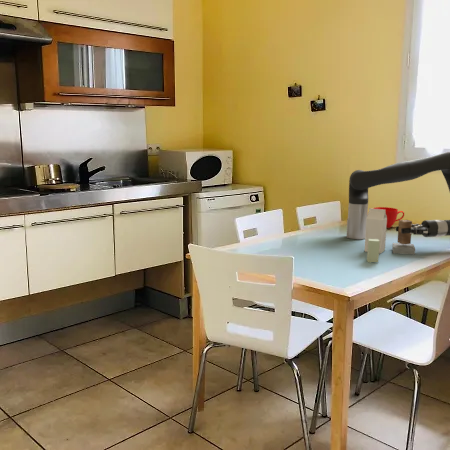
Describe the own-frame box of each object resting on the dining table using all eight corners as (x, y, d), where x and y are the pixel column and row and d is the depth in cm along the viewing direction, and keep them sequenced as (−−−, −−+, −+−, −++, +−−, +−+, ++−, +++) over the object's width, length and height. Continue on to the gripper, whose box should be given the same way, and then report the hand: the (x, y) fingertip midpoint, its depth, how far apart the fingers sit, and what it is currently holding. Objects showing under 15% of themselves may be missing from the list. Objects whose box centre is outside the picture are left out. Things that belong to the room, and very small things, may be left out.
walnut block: (402, 244, 228) (403, 221, 226) (397, 242, 232) (398, 220, 230) (410, 243, 229) (412, 221, 227) (405, 241, 233) (407, 219, 231)
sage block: (368, 262, 213) (369, 240, 211) (366, 259, 217) (368, 238, 215) (378, 262, 212) (379, 241, 211) (376, 260, 216) (378, 239, 214)
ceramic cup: (407, 229, 278) (408, 211, 277) (375, 229, 279) (376, 210, 277) (399, 224, 291) (400, 207, 289) (369, 224, 291) (370, 207, 290)
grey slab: (392, 254, 228) (393, 247, 228) (392, 249, 237) (392, 242, 236) (414, 255, 226) (415, 248, 225) (413, 250, 234) (413, 244, 234)
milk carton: (380, 254, 227) (383, 210, 223) (364, 251, 230) (366, 209, 227) (384, 250, 232) (387, 208, 229) (369, 248, 236) (371, 207, 232)
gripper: (425, 217, 238) (391, 218, 235) (444, 223, 225) (408, 224, 221) (424, 233, 240) (390, 234, 236) (443, 240, 226) (406, 241, 223)
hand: (399, 229), depth 229 cm, fingers closed on walnut block, 4 cm apart
